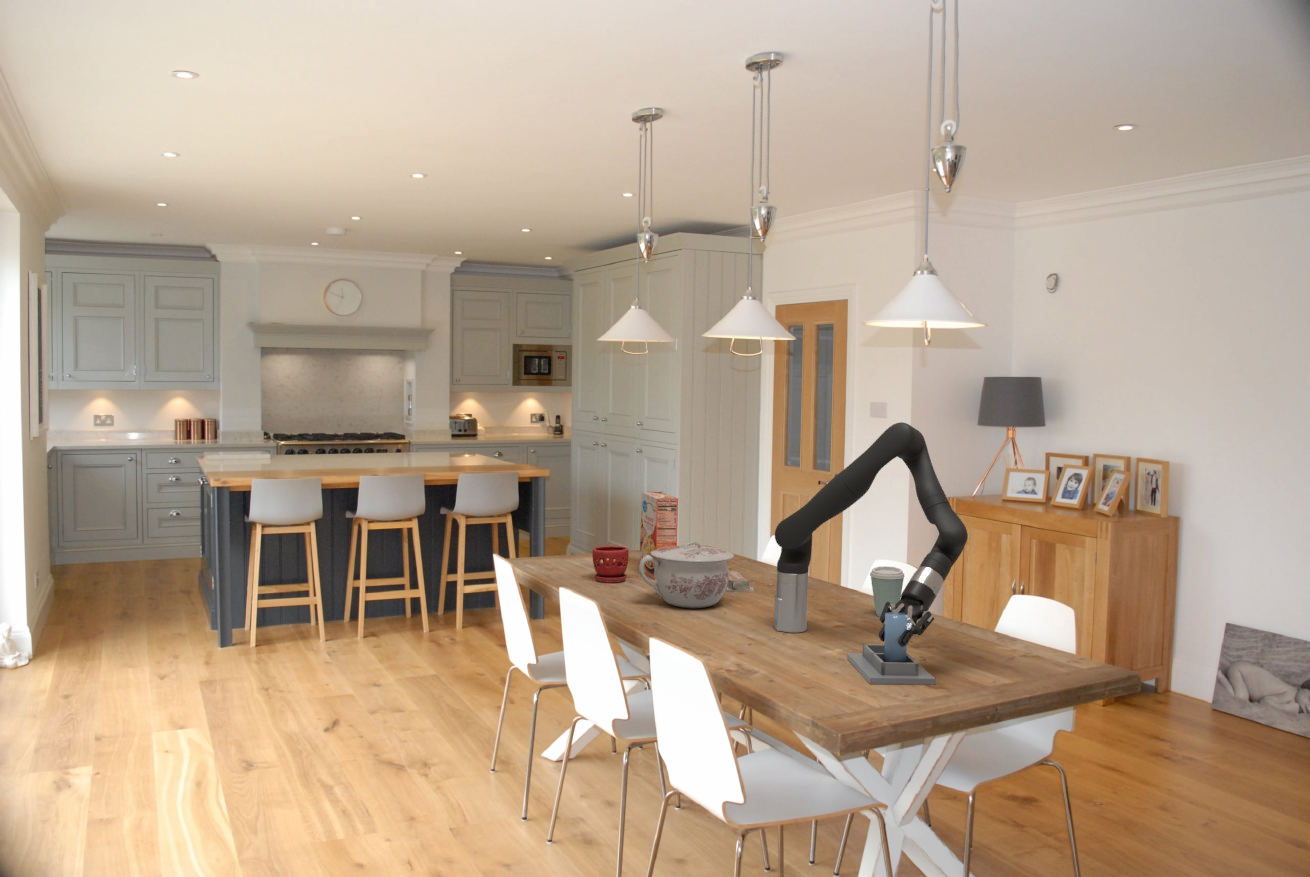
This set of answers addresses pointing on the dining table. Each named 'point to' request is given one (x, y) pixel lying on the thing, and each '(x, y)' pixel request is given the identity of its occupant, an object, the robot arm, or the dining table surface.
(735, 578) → the packaged product
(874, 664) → the tray
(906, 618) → the pale blue cylinder
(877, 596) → the disposable coffee cup
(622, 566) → the plant pot
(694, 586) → the chamber pot
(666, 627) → the dining table surface
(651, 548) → the orange cereal box
